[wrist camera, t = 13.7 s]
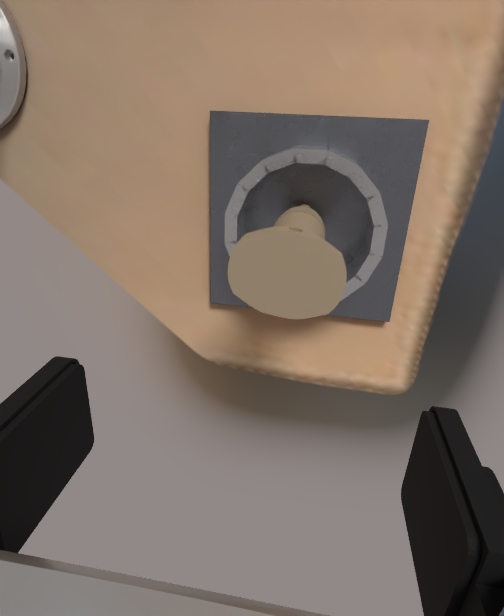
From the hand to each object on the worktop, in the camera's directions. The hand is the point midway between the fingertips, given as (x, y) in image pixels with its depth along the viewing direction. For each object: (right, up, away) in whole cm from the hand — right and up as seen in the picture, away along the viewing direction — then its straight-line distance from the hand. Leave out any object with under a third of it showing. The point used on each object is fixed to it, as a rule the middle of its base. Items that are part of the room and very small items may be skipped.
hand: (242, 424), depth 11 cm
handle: (+5, +11, +25) cm, 28 cm away
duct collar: (+5, +11, +26) cm, 28 cm away
